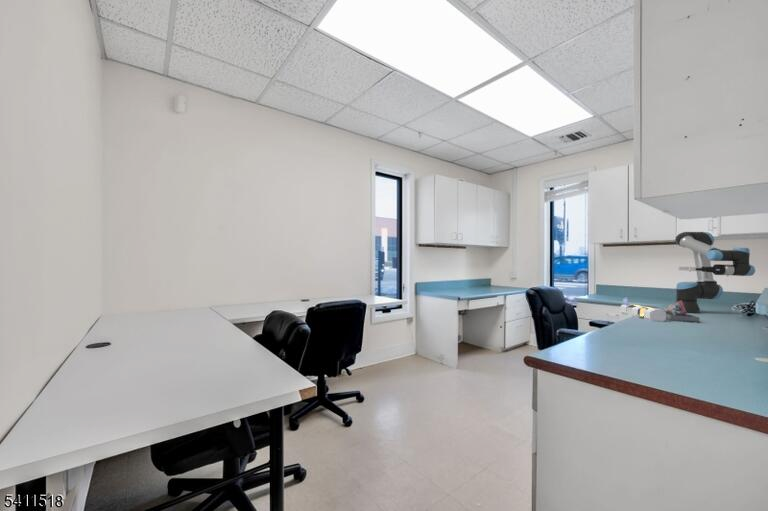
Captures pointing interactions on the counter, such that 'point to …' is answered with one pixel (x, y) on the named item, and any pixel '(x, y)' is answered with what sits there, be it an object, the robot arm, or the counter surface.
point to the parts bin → (683, 318)
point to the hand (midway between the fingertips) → (683, 268)
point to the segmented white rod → (644, 312)
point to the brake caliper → (676, 309)
